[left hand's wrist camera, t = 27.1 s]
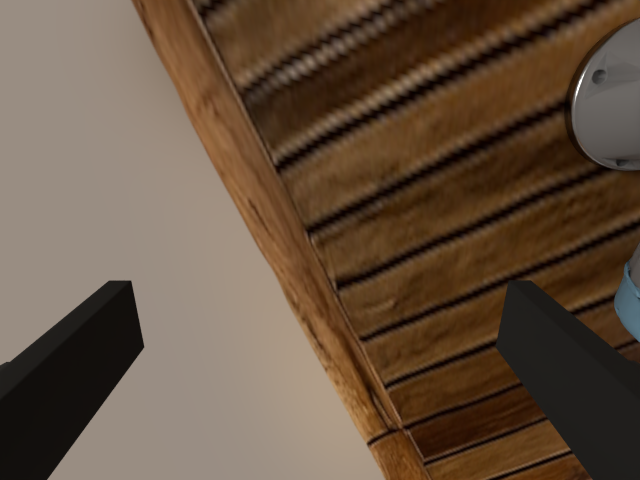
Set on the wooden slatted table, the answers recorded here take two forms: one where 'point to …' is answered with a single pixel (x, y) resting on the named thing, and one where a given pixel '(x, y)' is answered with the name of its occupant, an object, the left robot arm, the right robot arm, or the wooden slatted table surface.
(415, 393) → the wooden slatted table surface
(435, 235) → the wooden slatted table surface
